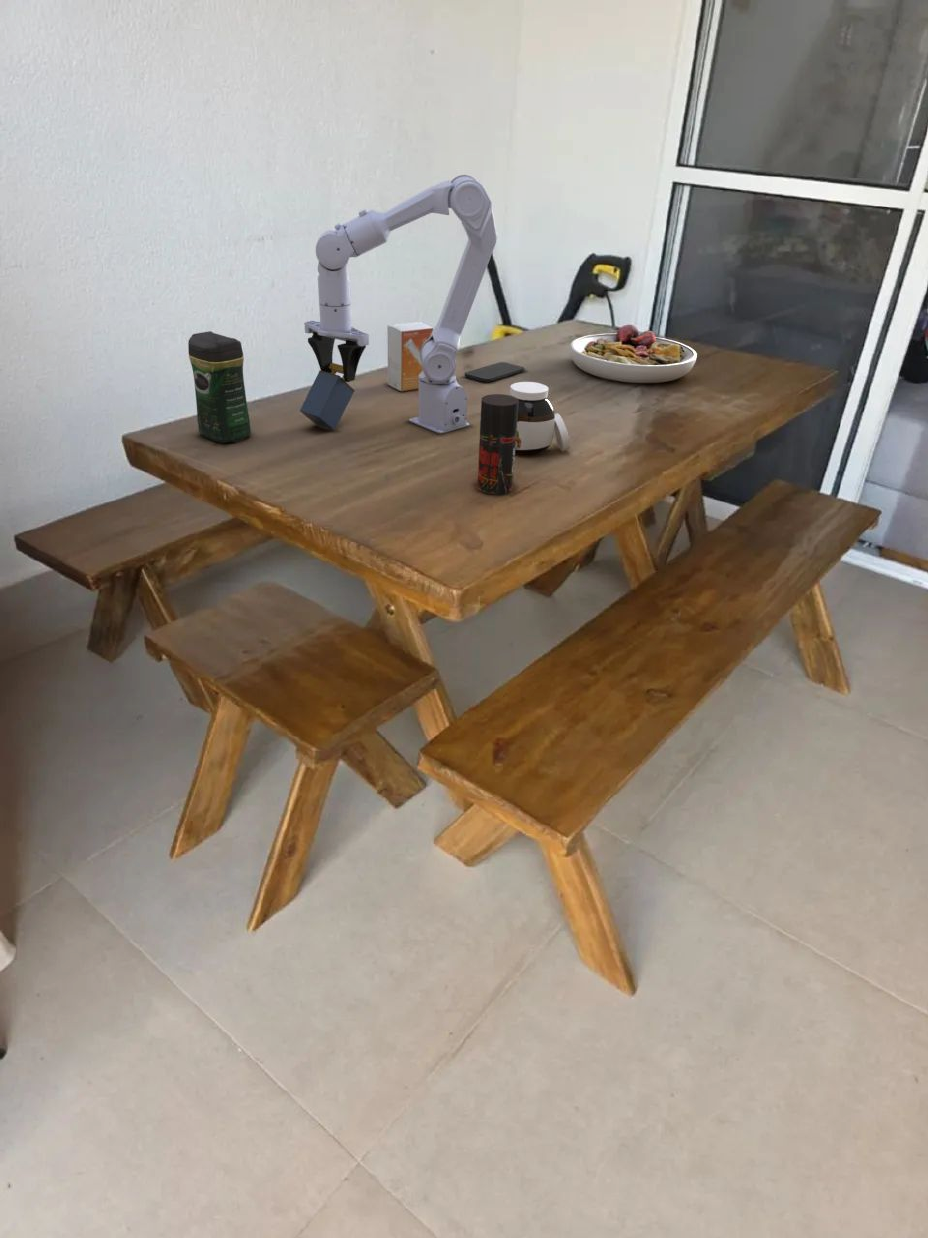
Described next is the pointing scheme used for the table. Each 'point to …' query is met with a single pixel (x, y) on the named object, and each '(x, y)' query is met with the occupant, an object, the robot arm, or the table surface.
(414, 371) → the small box
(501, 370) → the phone
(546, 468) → the table surface
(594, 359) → the bowl
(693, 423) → the table surface
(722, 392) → the table surface
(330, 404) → the box
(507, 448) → the deodorant
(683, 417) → the table surface
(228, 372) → the coffee jar
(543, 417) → the spread jar
